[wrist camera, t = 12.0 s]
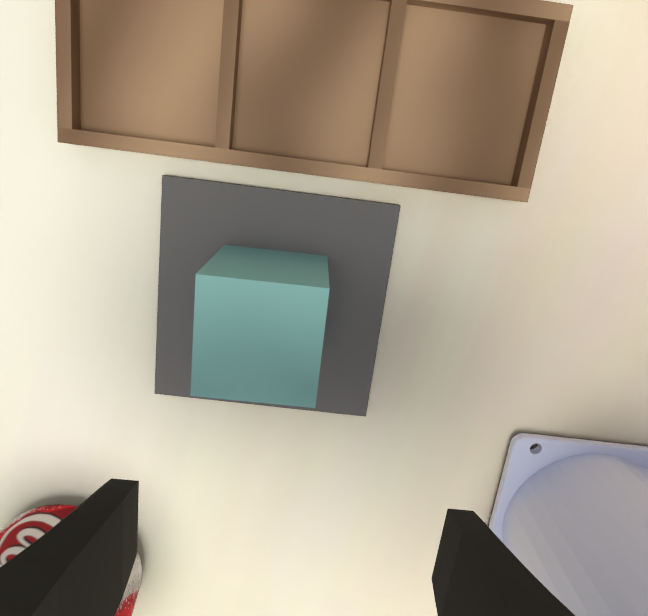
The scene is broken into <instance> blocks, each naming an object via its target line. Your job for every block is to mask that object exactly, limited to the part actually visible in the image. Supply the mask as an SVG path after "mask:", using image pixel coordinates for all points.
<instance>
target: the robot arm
mask: <svg viewBox="0 0 648 616" xmlns="http://www.w3.org/2000/svg"><path fill="white" fill-rule="evenodd" d="M536 443H538V446H537V447H536V448H534V449H530V447H531V445H533V444H536ZM138 488H139V481H132V480H121V479H111V480H109V481H108V482H107V483H105V484H104V485H103V486H102V487H100V488H99V489H98V490H97V491H96V492H95V493H93V494H92V495H91V496H90V497H89V498H88V499H86V500H85V501H84V502H83V503H82V504H80V505H79V506H78V507H77V508H76V509H75V510H73V511H72V512H71V513H70V514H69V515H67V516H66V517H65V518H64V519H62V520H61V521H60V522H59V523H57V524H56V525H55V526H54V527H53V528H51V529H50V530H49V531H48V532H46V533H45V534H44V535H43V536H41V537H40V538H39V539H37V540H36V541H35V542H34V543H32V544H31V545H30V546H28V547H27V548H26V549H24V550H23V551H21V552H20V553H19V554H17V555H16V556H15V557H13V558H12V559H11V560H9V561H8V562H6V563H5V564H4V565H2V566H1V567H0V616H115V614H116V612H117V609H118V607H119V605H120V603H121V600H122V598H123V595H124V592H125V589H126V586H127V583H128V580H129V577H130V574H131V571H132V568H133V565H134V562H135V559H136V555H137V529H138ZM432 583H433V589H434V596H435V602H436V607H437V613H438V616H648V447H647V446H638V445H628V444H619V443H610V442H601V441H592V440H582V439H573V438H564V437H555V436H546V435H536V434H527V433H520V434H517V435H515V436H514V437H513V438H512V440H511V442H510V446H509V450H508V453H507V457H506V461H505V465H504V469H503V473H502V477H501V481H500V485H499V488H498V492H497V496H496V500H495V504H494V508H493V512H492V516H491V519H490V523H489V527H488V526H487V525H486V524H485V523H484V522H483V521H482V520H481V519H480V518H479V516H478V515H477V514H476V513H475V512H474V511H467V510H456V509H448V510H447V515H446V519H445V523H444V527H443V532H442V536H441V540H440V545H439V549H438V553H437V558H436V562H435V566H434V571H433V575H432Z"/></svg>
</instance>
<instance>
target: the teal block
mask: <svg viewBox="0 0 648 616" xmlns="http://www.w3.org/2000/svg"><path fill="white" fill-rule="evenodd" d="M329 290H330V286H329V273H328V259H327V256H324V255H315V254H306V253H297V252H288V251H278V250H269V249H260V248H251V247H242V246H233V245H224V246H223V247H222V248H221V249H220V250H219V251H218V252H217V253H216V254H215V255H214V256H213V257H212V258H211V259H210V260H209V261H208V262H207V263H206V264H205V265H204V266H203V267H202V268H201V269H200V270H199V271H198V272H197V273H196V279H195V302H194V325H193V348H192V370H191V393H190V396H196V397H207V398H217V399H227V400H237V401H247V402H258V403H268V404H278V405H288V406H298V407H309V408H315V406H316V398H317V390H318V381H319V373H320V365H321V356H322V348H323V340H324V332H325V323H326V315H327V307H328V298H329Z"/></svg>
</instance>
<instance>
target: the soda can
mask: <svg viewBox="0 0 648 616" xmlns="http://www.w3.org/2000/svg"><path fill="white" fill-rule="evenodd" d="M76 508H77V507H76V506H71V505H46V506H42V507H37V508H34V509H31V510H28V511H26V512H24V513H22V514H20V515H19V516H17V517H15V518H14V519H13V520H12V521H11V522H9V523H8V524H7V525H6V526H5V527H4V528H3V529H2V530H1V531H0V567H1V566H2V565H4V564H5V563H6V562H8V561H9V560H11V559H12V558H13V557H15V556H16V555H17V554H19V553H20V552H21V551H23V550H24V549H26V548H27V547H28V546H30V545H31V544H32V543H34V542H35V541H36V540H37V539H39V538H40V537H41V536H43V535H44V534H45V533H46V532H48V531H49V530H50V529H51V528H53V527H54V526H55V525H56V524H57V523H59V522H60V521H61V520H62V519H64V518H65V517H66V516H67V515H69V514H70V513H71V512H72V511H73V510H75V509H76ZM141 578H142V565H141V560H140V556H139V554H138V551H137V555H136V559H135V562H134V565H133V568H132V571H131V574H130V577H129V580H128V583H127V586H126V589H125V592H124V595H123V598H122V600H121V603H120V605H119V607H118V609H117V612H116V614H115V616H132V613H133V609H134V606H135V602H136V598H137V595H138V591H139V588H140V584H141Z"/></svg>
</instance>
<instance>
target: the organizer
mask: <svg viewBox="0 0 648 616" xmlns="http://www.w3.org/2000/svg"><path fill="white" fill-rule="evenodd" d="M572 9H573V5H569V4H562V3H556V2H549V1H542V0H55V26H56V77H57V127H58V142H62V143H69V144H77V145H85V146H93V147H100V148H108V149H116V150H124V151H131V152H139V153H147V154H155V155H163V156H170V157H178V158H186V159H194V160H201V161H209V162H217V163H225V164H232V165H240V166H248V167H256V168H264V169H271V170H279V171H287V172H295V173H302V174H310V175H318V176H326V177H334V178H341V179H349V180H357V181H365V182H372V183H380V184H388V185H396V186H403V187H411V188H419V189H427V190H435V191H442V192H450V193H458V194H466V195H473V196H481V197H489V198H497V199H505V200H512V201H520V202H528V198H529V194H530V189H531V185H532V181H533V176H534V172H535V168H536V164H537V159H538V155H539V151H540V146H541V142H542V138H543V134H544V129H545V125H546V121H547V116H548V112H549V108H550V104H551V99H552V95H553V91H554V87H555V82H556V78H557V74H558V69H559V65H560V61H561V57H562V52H563V48H564V44H565V39H566V35H567V31H568V27H569V22H570V18H571V14H572Z"/></svg>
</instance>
